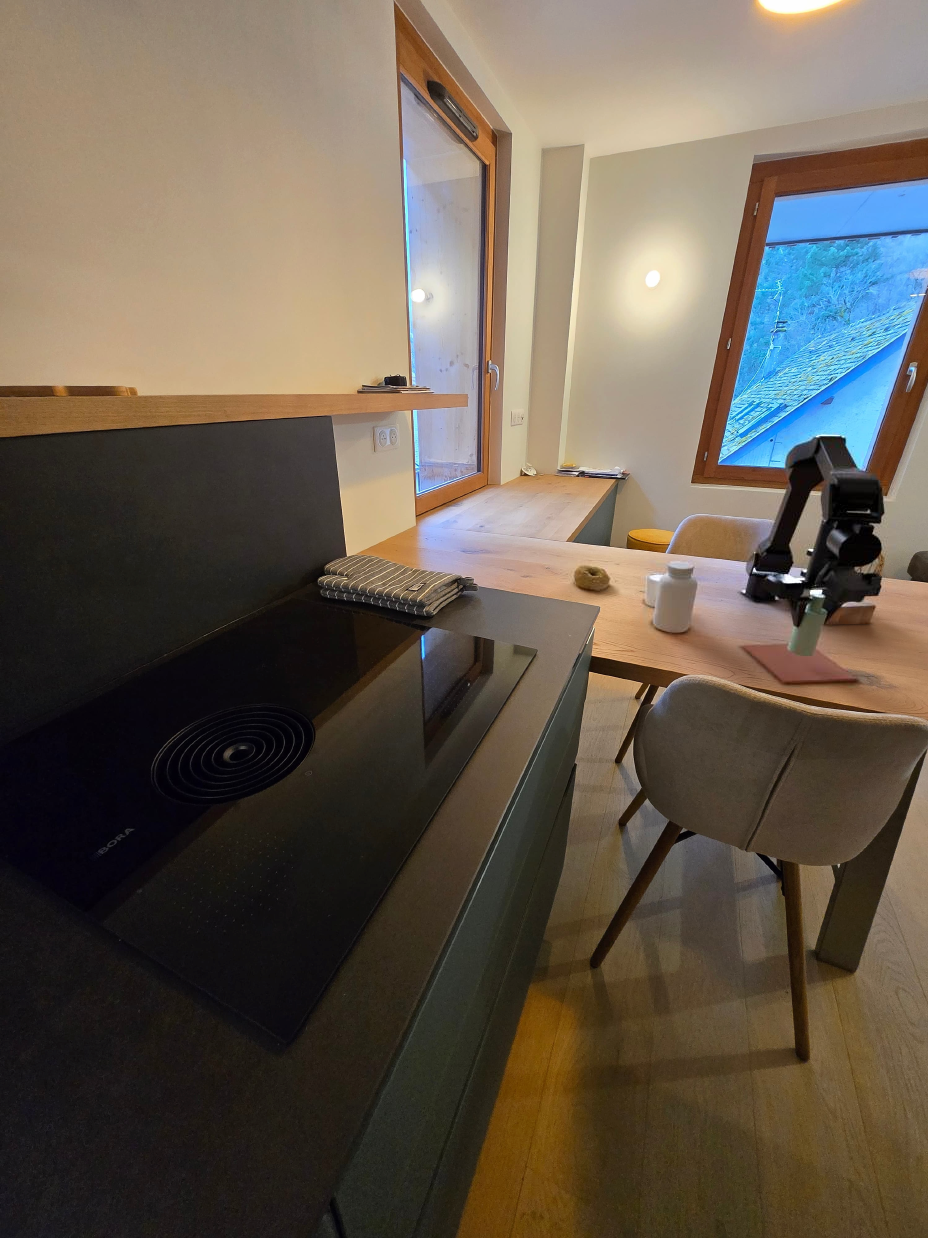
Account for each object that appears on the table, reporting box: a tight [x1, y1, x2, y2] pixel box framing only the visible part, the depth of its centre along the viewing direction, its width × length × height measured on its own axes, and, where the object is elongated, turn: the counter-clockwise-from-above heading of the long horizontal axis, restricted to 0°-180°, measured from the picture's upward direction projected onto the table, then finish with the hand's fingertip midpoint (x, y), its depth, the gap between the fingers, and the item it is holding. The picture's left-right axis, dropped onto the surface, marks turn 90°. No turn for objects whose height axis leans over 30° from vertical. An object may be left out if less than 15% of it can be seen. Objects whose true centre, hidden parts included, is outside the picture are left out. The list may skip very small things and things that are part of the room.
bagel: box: [573, 564, 611, 592], centre depth 137 cm, size 10×11×5 cm
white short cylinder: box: [644, 572, 665, 608], centre depth 125 cm, size 7×7×7 cm
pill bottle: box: [652, 560, 698, 634], centre depth 111 cm, size 8×8×15 cm
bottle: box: [787, 593, 827, 656], centre depth 95 cm, size 4×4×12 cm
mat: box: [742, 643, 858, 684], centre depth 98 cm, size 14×14×1 cm
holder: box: [796, 577, 877, 626], centre depth 121 cm, size 10×18×4 cm, turn 2°
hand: (807, 626), depth 95 cm, fingers closed on bottle, 4 cm apart
